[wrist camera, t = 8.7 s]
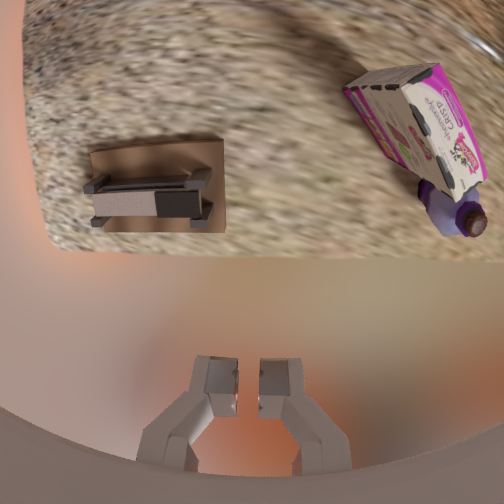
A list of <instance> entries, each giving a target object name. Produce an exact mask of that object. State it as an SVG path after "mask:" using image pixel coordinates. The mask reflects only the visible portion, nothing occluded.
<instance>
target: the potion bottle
mask: <svg viewBox="0 0 504 504" xmlns="http://www.w3.org/2000/svg"><path fill="white" fill-rule="evenodd" d="M418 198H419V199H420V200H421V201H422V202H423V204H424V205H425V207H426V212H427V213H428V215H429V217H430V219H431V221H432V222H433V224H434V225H435V226H436V227H437V229H438V230H439V231H440V232H441V234H442V235H443V236H451V235H458V234H463V235H464V236H465V237H467V236H471V237H477V236H479V235H481V234H482V233H483V231H484V230H485V228H486V226H487V222H488V221H487V217H486V216H485V212H484V211H483V209H482V207H481V205H480V204H478V202H479V193H478V191H477V190H476V188H473V189H472V190H471V191H470V192H468V193H467V194H466V195H465V196H464V197H462V198H461V199H460V200H459V201H458V202H455V201H454V200H452V199H451V198H450V197H448V196H447V195H445V194H444V193H442V192H441V191H439V190H438V189H436V188H435V187H434V186H432V185H431V184H429V183H428V182H426V181H424V180H423V179H422V180H421V181H420V182H419V188H418Z"/></svg>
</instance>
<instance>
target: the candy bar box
mask: <svg viewBox="0 0 504 504" xmlns="http://www.w3.org/2000/svg"><path fill="white" fill-rule="evenodd" d="M342 90H343V91H344V93H345V94H346V96H347V97H348V98H349V100H350V101H351V102H352V104H353V105H354V107H355V108H356V109H357V111H358V112H359V114H360V115H361V117H362V118H363V120H364V121H365V123H366V124H367V126H368V127H369V129H370V130H371V132H372V134H373V135H374V137H375V138H376V140H377V142H378V143H379V145H380V147H381V148H382V150H383V152H384V153H385V155H386V157H387V158H389V159H391V160H392V161H394V162H396V163H397V164H399V165H401V166H403V167H404V168H406V169H407V170H409V171H410V172H412V173H414V174H416V175H417V176H419V177H420V178H421V179H423V180H424V181H426V182H428V183H429V184H431V185H432V186H434V187H435V188H436V189H438V190H439V191H441V192H442V193H444V194H445V195H447V196H448V197H450V198H451V199H452V200H454V201H455V202H458V201H459V200H460V199H461V198H462V197H464V196H465V195H466V194H467V193H468V192H470V191H471V190H472V189H473V188H475V187H476V186H477V184H478V183H482V182H483V181H484V180H485V179H486V178H487V177H488V173H487V169H486V166H485V163H484V160H483V157H482V154H481V151H480V148H479V146H478V143H477V140H476V138H475V135H474V132H473V130H472V127H471V125H470V122H469V120H468V118H467V115H466V113H465V111H464V109H463V106H462V104H461V102H460V100H459V98H458V96H457V94H456V92H455V90H454V88H453V86H452V84H451V82H450V80H449V78H448V76H447V74H446V73H445V71H444V69H443V67H442V65H441V64H440V63H429V64H420V65H411V66H401V67H393V68H387V69H380V70H374V71H369V72H367V73H366V74H364V75H362V76H361V77H359V78H358V79H356V80H354V81H353V82H351V83H349V84H348V85H346V86H344V87H343V88H342Z"/></svg>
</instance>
